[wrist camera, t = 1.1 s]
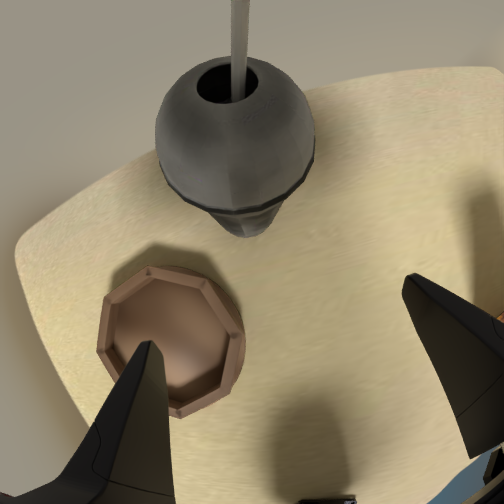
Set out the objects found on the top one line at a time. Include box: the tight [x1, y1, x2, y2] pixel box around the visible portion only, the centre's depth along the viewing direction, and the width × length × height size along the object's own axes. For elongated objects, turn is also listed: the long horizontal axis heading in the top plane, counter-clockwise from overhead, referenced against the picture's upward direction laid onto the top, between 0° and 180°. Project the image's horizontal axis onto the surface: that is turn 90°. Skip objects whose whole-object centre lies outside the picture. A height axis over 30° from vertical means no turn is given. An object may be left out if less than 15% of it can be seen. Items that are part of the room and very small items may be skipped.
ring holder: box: [96, 266, 246, 419], centre depth 21 cm, size 13×13×2 cm
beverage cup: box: [155, 0, 315, 238], centre depth 13 cm, size 7×7×20 cm
